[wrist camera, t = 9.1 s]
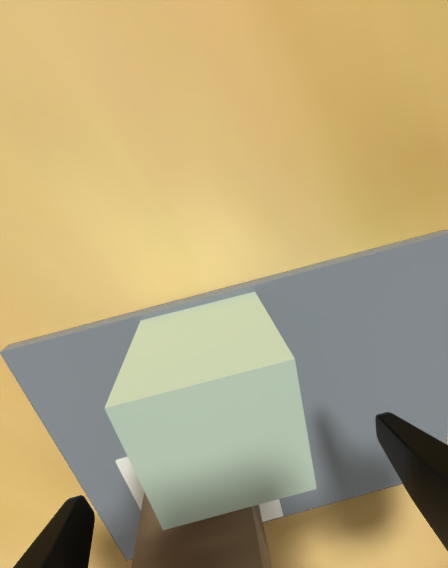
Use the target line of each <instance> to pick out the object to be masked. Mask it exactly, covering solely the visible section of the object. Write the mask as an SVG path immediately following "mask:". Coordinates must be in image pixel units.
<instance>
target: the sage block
mask: <svg viewBox="0 0 448 568" xmlns="http://www.w3.org/2000/svg"><path fill="white" fill-rule="evenodd" d="M104 409H105V411H106V413H107V415H108V417H109V419H110V421H111V423H112V425H113V427H114V429H115V431H116V434H117V436H118V438H119V440H120V442H121V444H122V446H123V448H124V450H125V452H126V454H127V456H128V458H129V461H130V463H131V465H132V467H133V469H134V471H135V473H136V475H137V477H138V479H139V481H140V483H141V485H142V487H143V490H144V492H145V494H146V496H147V498H148V500H149V502H150V504H151V506H152V508H153V510H154V512H155V514H156V517H157V519H158V521H159V523H160V525H161V527H162V529H163V530H166V529H170V528H174V527H177V526H181V525H185V524H188V523H192V522H196V521H200V520H203V519H207V518H211V517H214V516H218V515H222V514H226V513H229V512H233V511H237V510H240V509H244V508H248V507H252V506H255V505H259V504H263V503H266V502H270V501H274V500H278V499H281V498H285V497H289V496H292V495H296V494H300V493H304V492H307V491H311V490H315V489H317V488H316V482H315V476H314V470H313V464H312V458H311V452H310V446H309V440H308V434H307V428H306V422H305V416H304V410H303V404H302V398H301V393H300V387H299V381H298V375H297V369H296V363H295V358H294V357H293V355H292V353H291V352H290V350H289V348H288V346H287V345H286V343H285V341H284V340H283V338H282V336H281V335H280V333H279V331H278V330H277V328H276V326H275V325H274V323H273V321H272V320H271V318H270V316H269V314H268V313H267V311H266V309H265V308H264V306H263V304H262V303H261V301H260V299H259V298H258V296H257V294H256V293H255V292H251V293H247V294H243V295H239V296H235V297H231V298H227V299H223V300H219V301H216V302H212V303H208V304H204V305H200V306H196V307H192V308H188V309H184V310H180V311H176V312H172V313H168V314H164V315H160V316H156V317H152V318H149V319H145V320H141V321H140V323H139V326H138V328H137V330H136V333H135V335H134V338H133V340H132V342H131V345H130V347H129V350H128V352H127V355H126V357H125V359H124V362H123V364H122V367H121V369H120V372H119V374H118V376H117V379H116V381H115V384H114V386H113V388H112V391H111V393H110V396H109V398H108V401H107V403H106V405H105V408H104Z"/></svg>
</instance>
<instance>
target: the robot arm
mask: <svg viewBox="0 0 448 568" xmlns="http://www.w3.org/2000/svg"><path fill="white" fill-rule="evenodd" d="M375 422H376V435H377V438H378V441H379V443H380V445H381V447H382V448H383V450H384V452H385V454H386V455H387V457H388V459H389V461H390V462H391V464H392V466H393V467H394V469H395V471H396V473H397V474H398V476H399V478H400V480H401V481H402V483H403V485H404V487H405V488H406V490H407V492H408V493H409V495H410V497H411V498H412V500H413V502H414V503H415V505H416V506H417V508H418V509H419V510H420V512H421V513H422V515H423V516H424V518H425V519H426V521H427V522H428V523H429V525H430V526H431V528H432V529H433V531H434V532H435V534H436V535H437V536H438V538H439V539H440V541H441V542H442V544H443V545H444V546H445V548H446V549H447V551H448V445H447V444H445V443H443V442H442V441H440V440H438V439H436V438H435V437H433V436H431V435H429V434H428V433H426V432H424V431H422V430H421V429H419V428H417V427H416V426H414V425H412V424H410V423H409V422H407V421H405V420H403V419H402V418H400V417H398V416H396V415H395V414H393V413H391V412H385V413H381V414H377V415H376V417H375ZM94 522H95V516H94V512H93V510H92V508H91V507H90V505H89V503H88V502H87V500H86V499H85V497H84V496H82V495H80V496H76V497H73V498H70V499H68V500H67V501H66V502H65V503H64V504H63V505H62V507H61V508H60V509H59V510H58V512H57V513H56V514H55V515H54V517H53V518H52V519H51V521H50V522H49V523H48V524H47V526H46V527H45V528H44V529H43V531H42V532H41V533H40V534H39V536H38V537H37V538H36V539H35V541H34V542H33V543H32V544H31V546H30V547H29V548H28V550H27V551H26V552H25V553H24V555H23V556H22V557H21V558H20V560H19V561H18V562H17V563H16V565H15V566H14V567H13V568H88V563H89V556H90V549H91V542H92V536H93V529H94Z"/></svg>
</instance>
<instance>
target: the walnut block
mask: <svg viewBox="0 0 448 568" xmlns="http://www.w3.org/2000/svg"><path fill="white" fill-rule="evenodd" d="M132 568H272V566H271V561H270V557H269V552H268V547H267V542H266V537H265V532H264V527H263V522H262V517H261V512H260V508H259V505H255V506H252V507H248V508H244V509H240V510H237V511H233V512H229V513H226V514H222V515H218V516H214V517H211V518H207V519H203V520H200V521H196V522H192V523H188V524H185V525H181V526H177V527H174V528H170V529H166V530H163V529H162V527H161V525H160V523H159V521H158V519H157V517H156V514H155V512H154V510H153V508H152V506H151V504H150V502H149V500H148V498H147V496H146V494H145V492H144V496H143V502H142V508H141V514H140V520H139V527H138V533H137V539H136V545H135V551H134V557H133V563H132Z"/></svg>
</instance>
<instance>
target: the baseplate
mask: <svg viewBox="0 0 448 568" xmlns="http://www.w3.org/2000/svg"><path fill="white" fill-rule="evenodd" d="M251 292H255V293H256V294H257V296H258V298H259V299H260V301H261V303H262V304H263V306H264V308H265V309H266V311H267V313H268V314H269V316H270V318H271V320H272V321H273V323H274V325H275V326H276V328H277V330H278V331H279V333H280V335H281V336H282V338H283V340H284V341H285V343H286V345H287V346H288V348H289V350H290V352H291V353H292V355H293V357H294V358H295V363H296V369H297V375H298V381H299V387H300V393H301V398H302V404H303V410H304V416H305V422H306V428H307V434H308V440H309V446H310V452H311V458H312V464H313V470H314V476H315V482H316V488H317V489H315V490H311V491H307V492H304V493H300V494H296V495H292V496H289V497H285V498H281V499H278V500H274V501H270V502H266V503H263V504H259V508H260V512H261V517H262V522H263V523H264V522H267V521H271V520H274V519H278V518H281V517H285V516H289V515H292V514H296V513H299V512H303V511H307V510H310V509H314V508H317V507H321V506H325V505H328V504H332V503H335V502H339V501H343V500H346V499H350V498H353V497H357V496H361V495H364V494H368V493H371V492H375V491H378V490H382V489H386V488H389V487H393V486H396V485H400V484H403V483H402V481H401V480H400V478H399V476H398V474H397V473H396V471H395V469H394V467H393V466H392V464H391V462H390V461H389V459H388V457H387V455H386V454H385V452H384V450H383V448H382V447H381V445H380V443H379V441H378V438H377V435H376V422H375V417H376V415H377V414H381V413H385V412H391V413H393V414H395V415H396V416H398V417H400V418H402V419H403V420H405V421H407V422H409V423H410V424H412V425H414V426H416V427H417V428H419V429H421V430H422V431H424V432H426V433H428V434H429V435H431V436H433V437H435V438H436V439H438V440H440V441H442V442H443V443H445V444H447V433H448V230H443V231H439V232H435V233H431V234H427V235H424V236H420V237H416V238H412V239H408V240H405V241H401V242H397V243H393V244H390V245H386V246H382V247H378V248H374V249H371V250H367V251H363V252H359V253H355V254H352V255H348V256H344V257H340V258H336V259H333V260H329V261H325V262H321V263H317V264H314V265H310V266H306V267H302V268H298V269H295V270H291V271H287V272H283V273H279V274H276V275H272V276H268V277H264V278H260V279H257V280H253V281H249V282H245V283H242V284H238V285H234V286H230V287H226V288H223V289H219V290H215V291H211V292H207V293H204V294H200V295H196V296H192V297H188V298H185V299H181V300H177V301H173V302H169V303H166V304H162V305H158V306H154V307H150V308H147V309H143V310H139V311H135V312H131V313H128V314H124V315H120V316H116V317H113V318H109V319H105V320H101V321H97V322H94V323H90V324H86V325H82V326H78V327H75V328H71V329H67V330H63V331H59V332H56V333H52V334H48V335H44V336H40V337H37V338H33V339H29V340H25V341H21V342H18V343H14V344H10V345H8V346H7V347H6V348H4V349H3V350H2V351H1V352H0V354H1V355H2V357H3V359H4V360H5V362H6V364H7V365H8V367H9V369H10V370H11V372H12V373H13V375H14V377H15V378H16V380H17V382H18V383H19V385H20V387H21V388H22V390H23V392H24V393H25V395H26V396H27V398H28V400H29V401H30V403H31V405H32V406H33V408H34V410H35V411H36V413H37V414H38V416H39V418H40V419H41V421H42V423H43V424H44V426H45V428H46V429H47V431H48V433H49V434H50V436H51V437H52V439H53V441H54V442H55V444H56V446H57V447H58V449H59V451H60V452H61V454H62V456H63V457H64V459H65V460H66V462H67V464H68V465H69V467H70V469H71V470H72V472H73V474H74V475H75V477H76V479H77V480H78V482H79V483H80V485H81V487H82V488H83V490H84V492H85V493H86V495H87V497H88V498H89V500H90V501H91V503H92V505H93V506H94V508H95V510H96V511H97V513H98V515H99V516H100V518H101V520H102V521H103V523H104V524H105V526H106V528H107V529H108V531H109V533H110V534H111V536H112V538H113V539H114V541H115V543H116V544H117V546H118V547H119V549H120V551H121V552H122V554H123V556H124V557H125V559H126V561H127V560H131V559H133V557H134V551H135V545H136V539H137V533H138V527H139V520H140V514H141V508H142V502H143V496H144V490H143V487H142V485H141V483H140V481H139V479H138V477H137V475H136V473H135V471H134V469H133V467H132V465H131V463H130V461H129V458H128V456H127V454H126V452H125V450H124V448H123V446H122V444H121V442H120V440H119V438H118V436H117V434H116V431H115V429H114V427H113V425H112V423H111V421H110V419H109V417H108V415H107V413H106V411H105V409H104V408H105V405H106V403H107V401H108V398H109V396H110V393H111V391H112V388H113V386H114V384H115V381H116V379H117V376H118V374H119V372H120V369H121V367H122V364H123V362H124V359H125V357H126V355H127V352H128V350H129V347H130V345H131V342H132V340H133V338H134V335H135V333H136V330H137V328H138V326H139V323H140V321H141V320H145V319H149V318H152V317H156V316H160V315H164V314H168V313H172V312H176V311H180V310H184V309H188V308H192V307H196V306H200V305H204V304H208V303H212V302H216V301H219V300H223V299H227V298H231V297H235V296H239V295H243V294H247V293H251Z"/></svg>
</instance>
